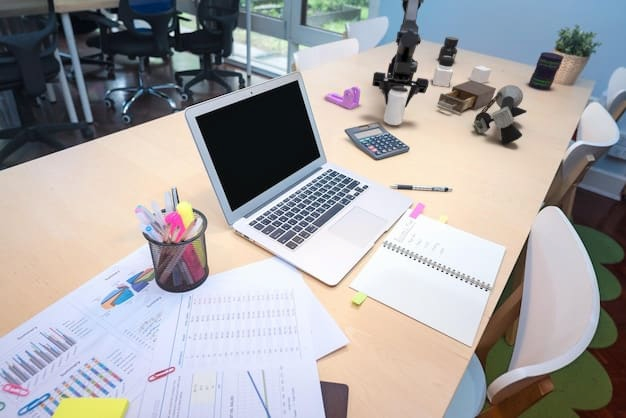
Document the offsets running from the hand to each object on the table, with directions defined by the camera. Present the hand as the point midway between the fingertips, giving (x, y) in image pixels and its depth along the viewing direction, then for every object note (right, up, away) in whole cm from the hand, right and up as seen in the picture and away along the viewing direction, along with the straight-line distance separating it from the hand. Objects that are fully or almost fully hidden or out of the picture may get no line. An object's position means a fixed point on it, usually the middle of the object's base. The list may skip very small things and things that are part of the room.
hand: (395, 105), depth 134 cm
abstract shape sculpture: (+40, -6, +11) cm, 42 cm away
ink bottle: (+44, +45, +80) cm, 102 cm away
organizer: (+38, +10, +32) cm, 51 cm away
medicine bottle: (+31, +23, +48) cm, 62 cm away
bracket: (-18, +6, +19) cm, 27 cm away
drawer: (+29, +6, +24) cm, 38 cm away
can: (0, -5, +5) cm, 7 cm away
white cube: (+52, +27, +57) cm, 82 cm away
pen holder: (+13, +23, +46) cm, 53 cm away
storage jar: (+82, +24, +57) cm, 102 cm away
